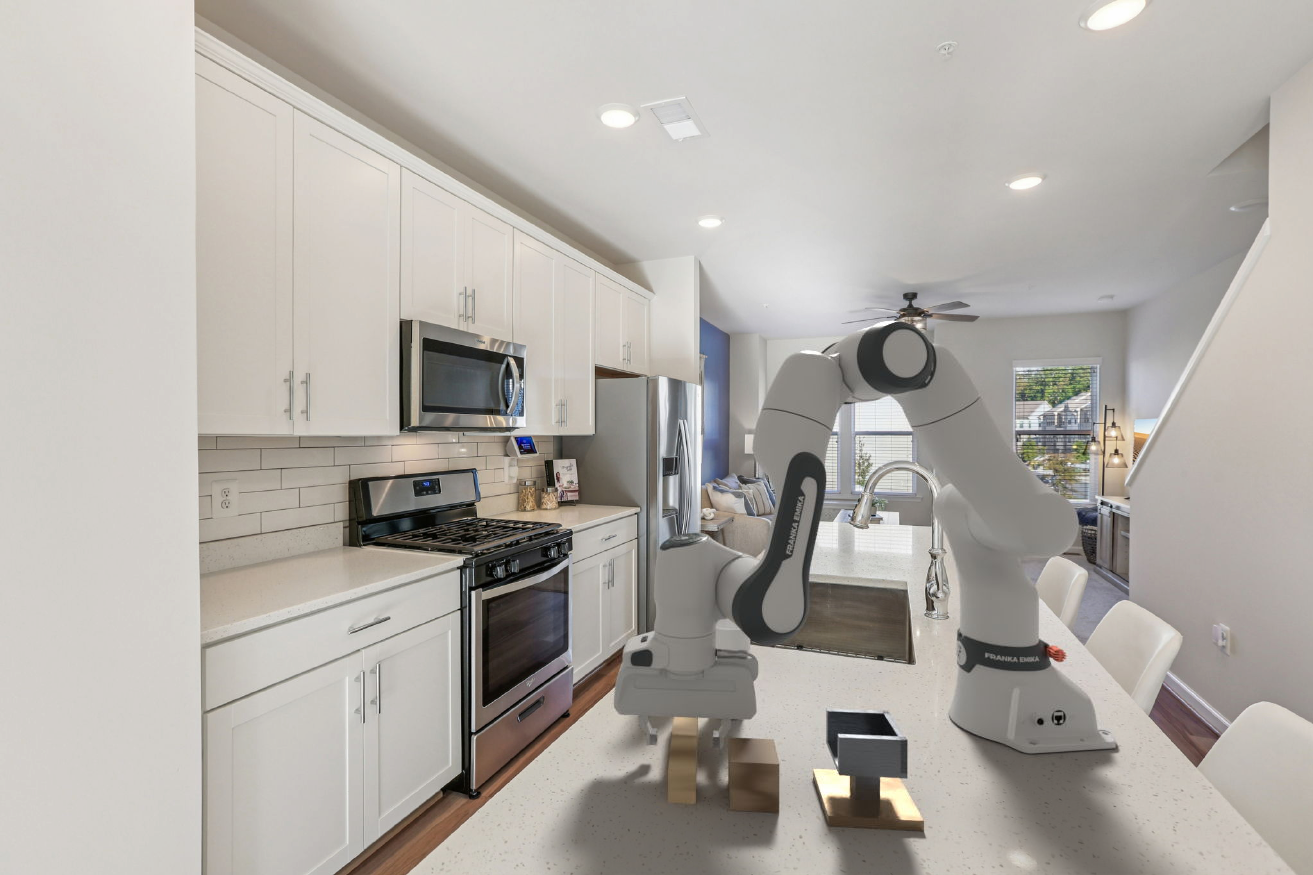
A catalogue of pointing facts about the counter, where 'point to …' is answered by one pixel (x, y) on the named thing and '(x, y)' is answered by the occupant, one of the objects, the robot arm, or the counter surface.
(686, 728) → the oak rail
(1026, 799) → the counter surface
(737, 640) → the drinking glass
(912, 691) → the counter surface
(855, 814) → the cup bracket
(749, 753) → the walnut block
